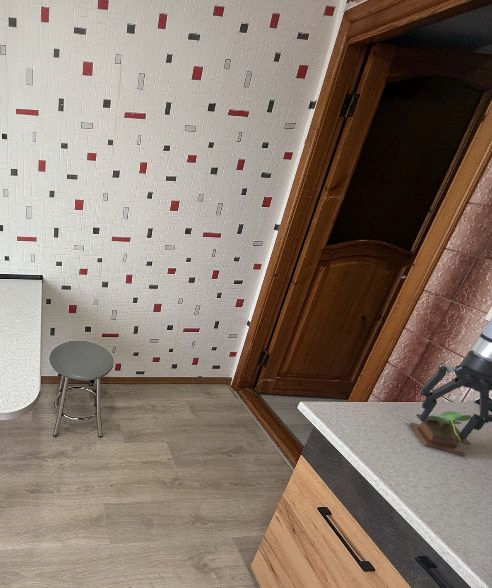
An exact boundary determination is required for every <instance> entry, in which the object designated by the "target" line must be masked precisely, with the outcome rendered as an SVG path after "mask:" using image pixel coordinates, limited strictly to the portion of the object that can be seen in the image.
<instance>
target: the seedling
mask: <svg viewBox="0 0 492 588" xmlns="http://www.w3.org/2000/svg"><path fill="white" fill-rule="evenodd" d="M428 417H430V418H431V419H434V420H437V421H446V422H444V423H446V424H453V427H454V425H461V424H463V422H466V421H469V420H470V419H471V418H472V416H471V415H469V414H464V415H463V414H461V413H459V412H457V411H449V410H448V411H444V412H441V413H440V415H439V416H438V415H429V416H428ZM454 431H455V427H454ZM455 434H456V435H457V433H456V431H455ZM457 436H458V435H457ZM458 438H459V436H458ZM459 440H460V438H459ZM460 441H461V440H460Z"/></svg>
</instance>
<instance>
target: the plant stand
mask: <svg viewBox="0 0 492 588" xmlns="http://www.w3.org/2000/svg"><path fill="white" fill-rule="evenodd" d="M416 417H417V418H418V419H419V421H420V423H416V422H410V424H409V427H410V428H411V429H412V431H413V432H414V433H415V435H416V437H417V438H419V440H420V442H421V443H422V444H423V446H425V447H427V448H428V447H429V448H430V449H431V448H432V449H435V450H439V451H443V452H446V453H449V454H453V455H457V456H461V457H463V455H464V454H465V452H464V450H462V448H461V447H460V446H459V444H464V445H467V446H471V445H472V443H471V441H469V439H467V438H466V439H465V438H462V436H461V431H460V430H459V428H458V427H457V426H456V424H454V427H455V431H456V433H457V435H458V436H459V438H460V440H461V441H460V440H459V438H458V436H457V435H456V434H455V431H454V427H453V424H446V423H444V422H446V421H437V420H434V419H431V418H430V417H429V416H428V417H427V419H426V420H425V422H424V421H422V420H421V413H416Z"/></svg>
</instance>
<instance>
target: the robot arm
mask: <svg viewBox="0 0 492 588" xmlns="http://www.w3.org/2000/svg"><path fill="white" fill-rule="evenodd" d="M452 372H453V373H454V374H455V377H454V378H452V379H451V380H449V381H448V382H446V383H444V384H443V385H441V386H439V387H437V388H435V387H436V386H437V385H438V384H439V383H440V382H441V381H442V380H443V379H444V378H445V376H446V375H450V374H451V373H452ZM462 387H464V388H468V389H472V390H474V391H476V392H478V393H479V414H476V413H473V415H472V416H471V417H472V418H471V419H470V420H468V422H467V423H466V424H465V426H464V427H463V428H462V429H461V431H460V432H461V436H462V438H465V439H467V438H468V437H469V436H470V434H471V433H472V432H473V431H474V430H476V431H480V430H481V429H482V428H483V427H484V426H485V424H488V423H489V422H490V423H492V414H489V408H490V405H489V404H490V402H489V401H490V391H492V317H491V318H490V320H489V321H488V323H487V324H486V326H485V327H484V329H483V330H482V331H481V333H480V335H479V336H478V337H477V339H476V340H475V342H474V344H472V346H471V350H469V351H468V352H467V353H466V355H465V356H464V358H463V359H462V360H461V362H460V363H459V364H458V365H456V366H452V365H447V364H446V363H444V362H440V363H439V365H438V369H437V371H436V372H435V373H434V374H433V375H431V377H430V378H429V379H428V380H427V381H426V382H425V384H423V385H422V387H421V388H420V395H422V396H424V397H425V398H424V400H423V402H422V403H421V407H422V409H424V410H423V411H422V413H420V415H421V420H422V421H424V422H425V420H426V419H427V417H429V416H430V414H432V412H433V410H434V408H435V407H436V406H437V404H438V401H437V399H439V398H441V397H444V396H445V395H447V394H449V393H451V392H452V391H455V390H456V389H460V388H462ZM434 388H435V389H434ZM433 389H434V390H433Z"/></svg>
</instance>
